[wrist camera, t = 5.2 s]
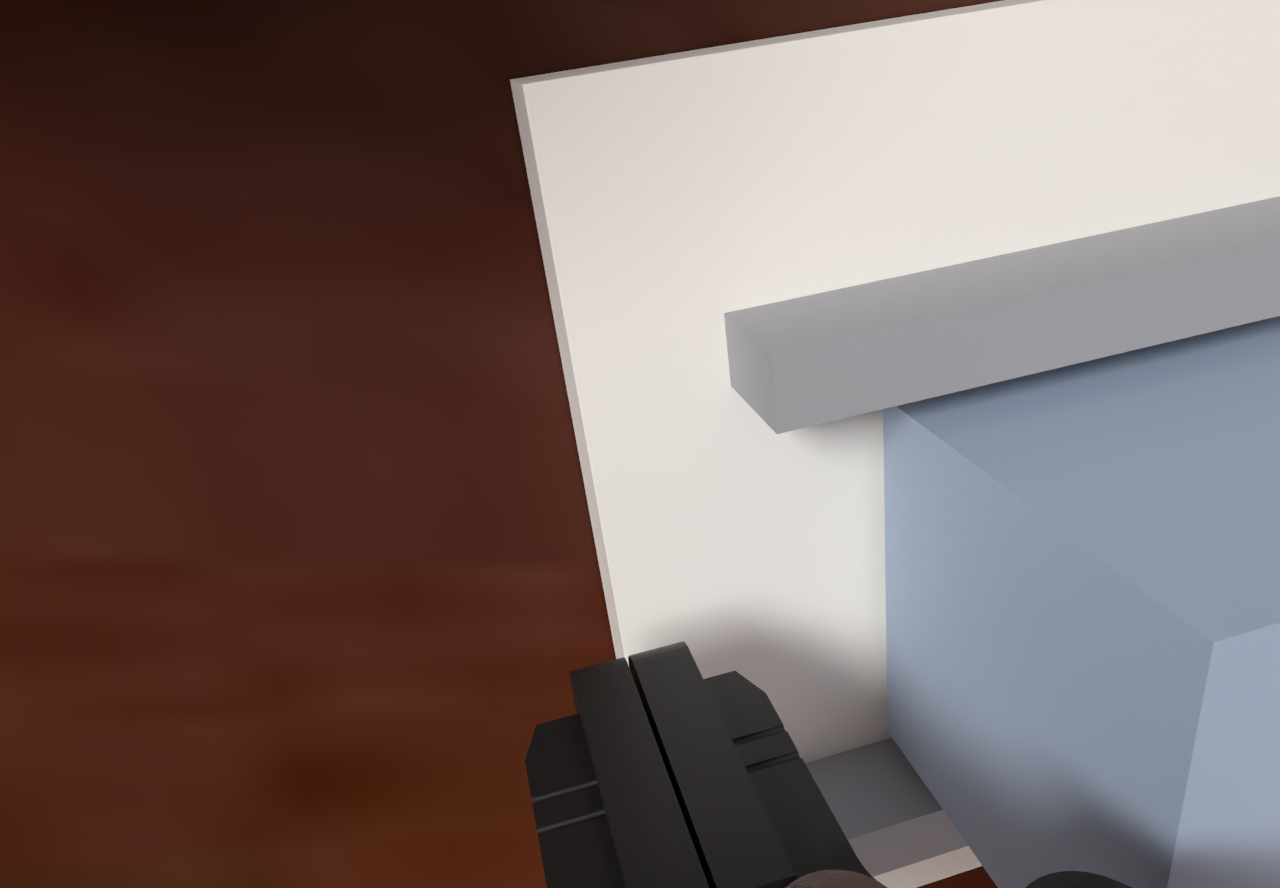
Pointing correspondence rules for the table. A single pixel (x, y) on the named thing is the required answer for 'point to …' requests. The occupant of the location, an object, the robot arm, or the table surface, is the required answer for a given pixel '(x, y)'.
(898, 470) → the plunger
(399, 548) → the table surface
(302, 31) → the table surface
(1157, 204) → the bench
